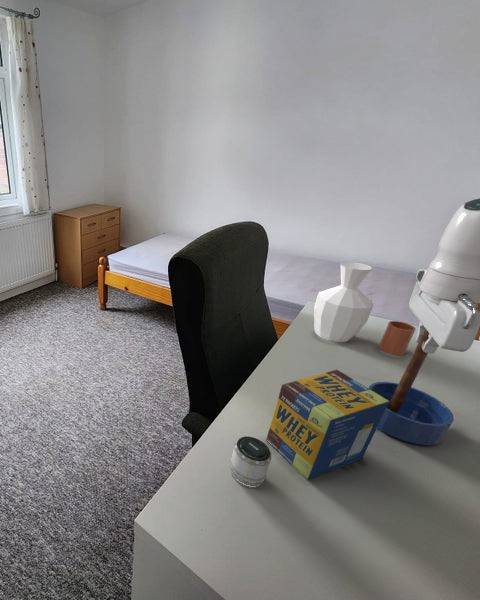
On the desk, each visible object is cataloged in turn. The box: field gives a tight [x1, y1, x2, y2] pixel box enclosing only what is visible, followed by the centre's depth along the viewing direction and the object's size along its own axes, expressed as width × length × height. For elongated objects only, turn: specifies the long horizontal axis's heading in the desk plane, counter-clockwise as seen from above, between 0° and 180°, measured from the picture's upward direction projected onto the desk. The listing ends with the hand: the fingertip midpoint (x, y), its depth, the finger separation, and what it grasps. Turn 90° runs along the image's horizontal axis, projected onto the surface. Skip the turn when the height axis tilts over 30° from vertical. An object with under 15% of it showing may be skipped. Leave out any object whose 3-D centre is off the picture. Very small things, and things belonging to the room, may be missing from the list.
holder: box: [378, 320, 417, 356], centre depth 102 cm, size 6×6×9 cm
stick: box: [387, 328, 429, 413], centre depth 73 cm, size 2×2×22 cm
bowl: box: [367, 381, 455, 446], centre depth 77 cm, size 14×14×6 cm
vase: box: [313, 261, 374, 343], centre depth 107 cm, size 14×14×25 cm
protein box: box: [265, 369, 390, 480], centre depth 68 cm, size 10×15×16 cm
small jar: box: [229, 436, 272, 489], centre depth 65 cm, size 6×6×8 cm
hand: (424, 347), depth 70 cm, fingers closed on stick, 2 cm apart
